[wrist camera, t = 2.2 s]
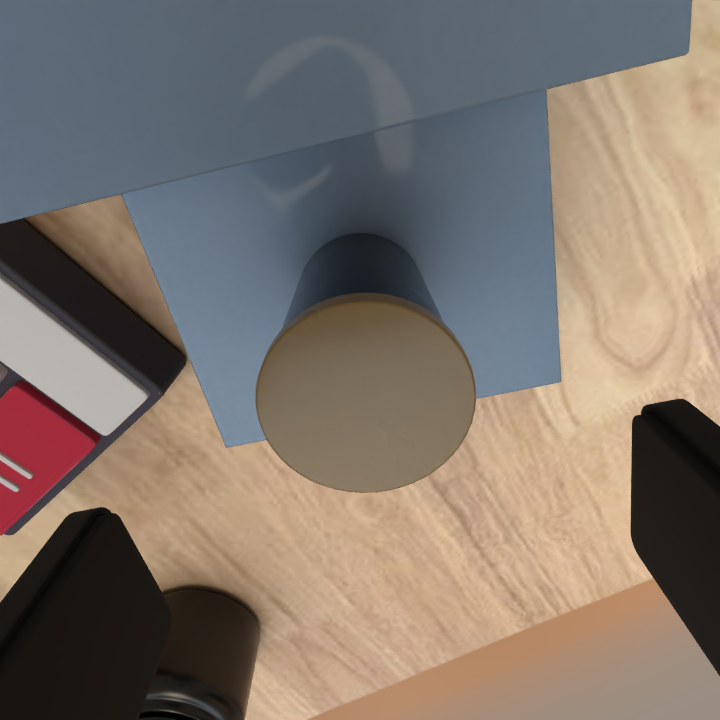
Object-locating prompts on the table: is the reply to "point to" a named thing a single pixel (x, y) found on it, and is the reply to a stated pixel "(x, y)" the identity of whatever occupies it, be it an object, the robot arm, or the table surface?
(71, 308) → the calculator
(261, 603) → the table surface
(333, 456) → the dark jar with lid
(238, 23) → the blue-grey angular block
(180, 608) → the ink bottle
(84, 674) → the robot arm
